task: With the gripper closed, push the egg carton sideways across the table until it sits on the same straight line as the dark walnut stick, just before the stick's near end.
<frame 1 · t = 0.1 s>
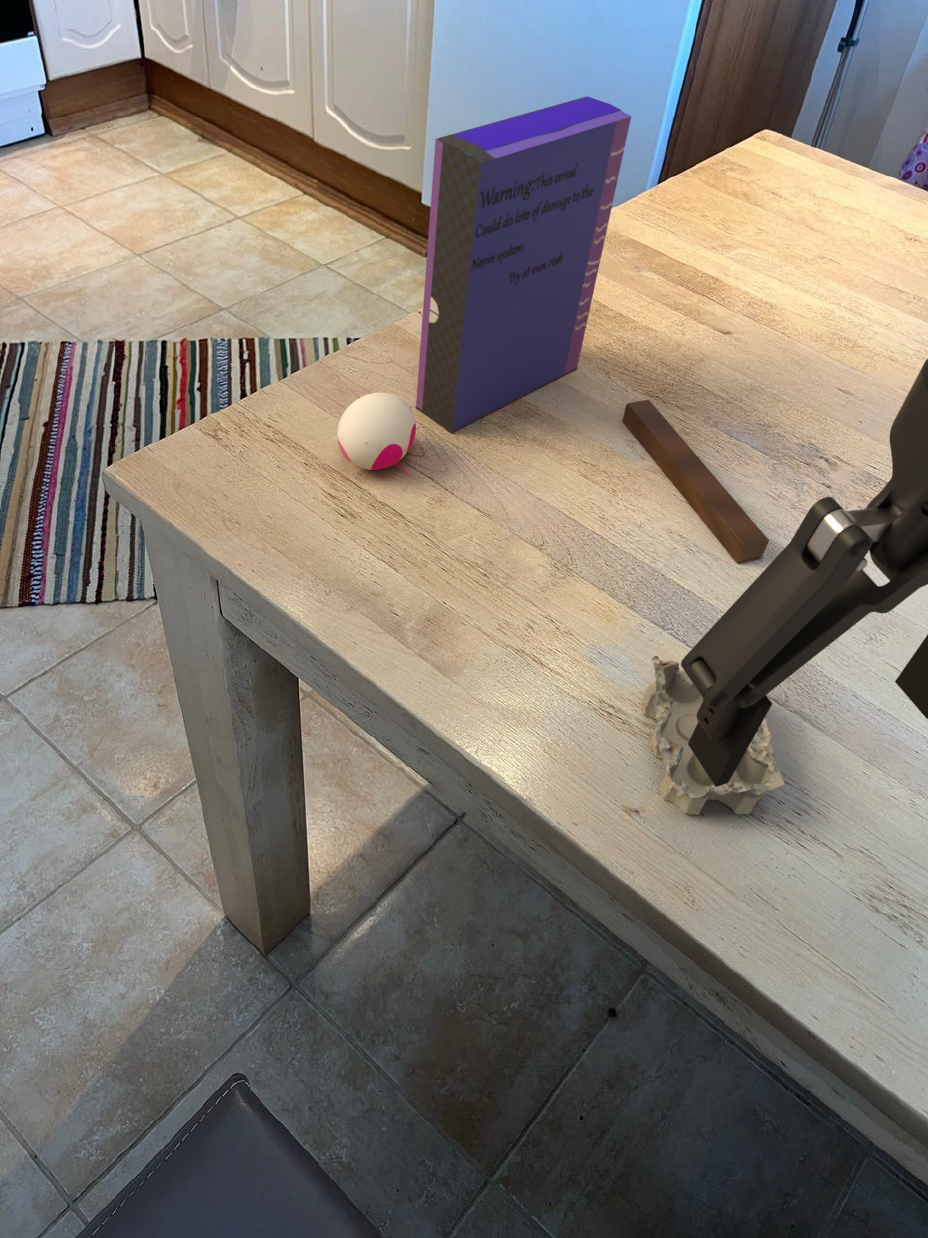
hand: (815, 730, 50), 13 cm above the table, tool pointing down, fingers open, 13 cm apart
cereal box: (499, 389, 91), on the table
walnut stick: (687, 484, 84), on the table
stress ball: (381, 463, 82), on the table
egg carton: (699, 751, 64), on the table
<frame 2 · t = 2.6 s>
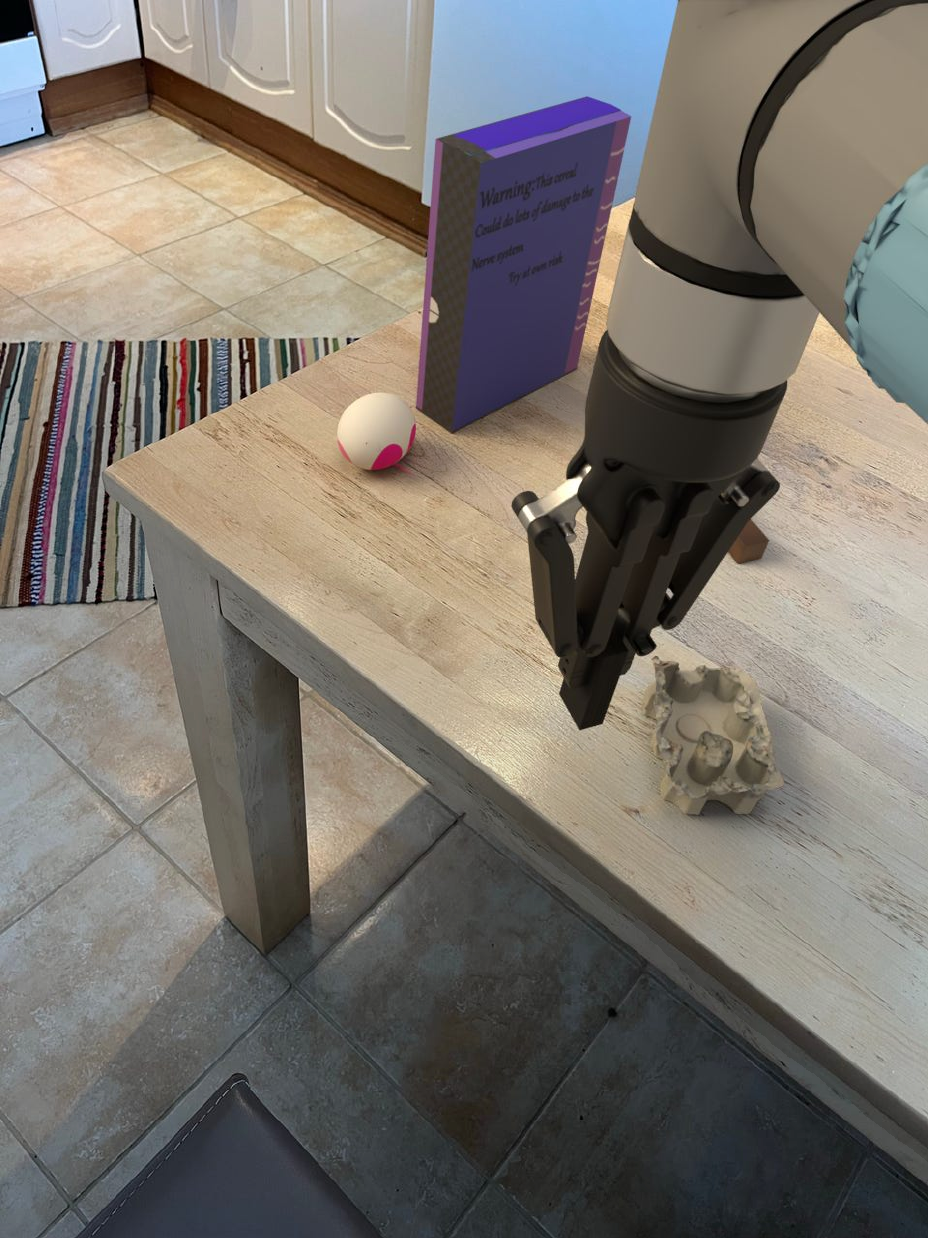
hand: (580, 708, 54), 9 cm above the table, tool pointing down, fingers closed
nothing on the table moved.
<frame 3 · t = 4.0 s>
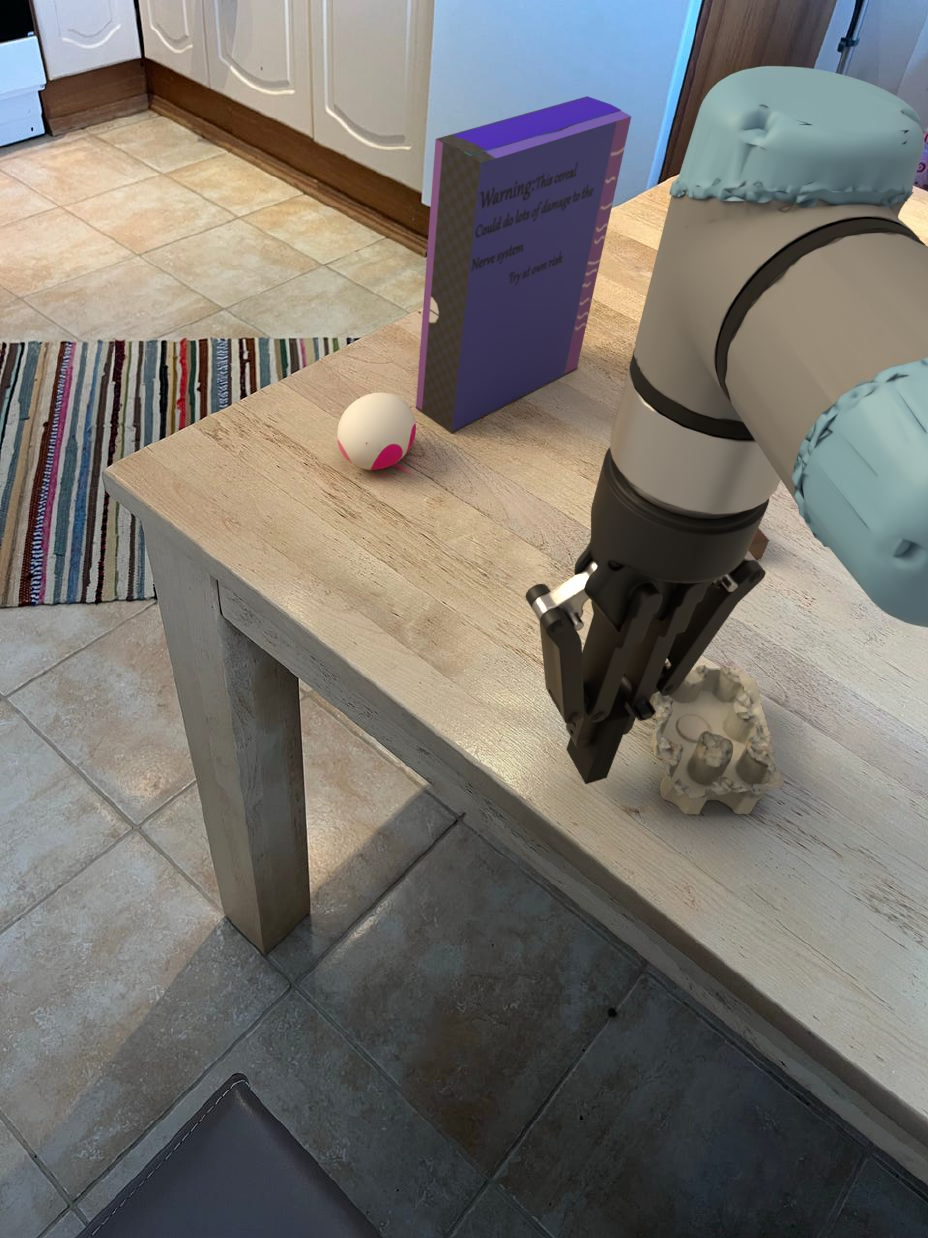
hand: (586, 763, 59), 3 cm above the table, tool pointing down, fingers closed
nothing on the table moved.
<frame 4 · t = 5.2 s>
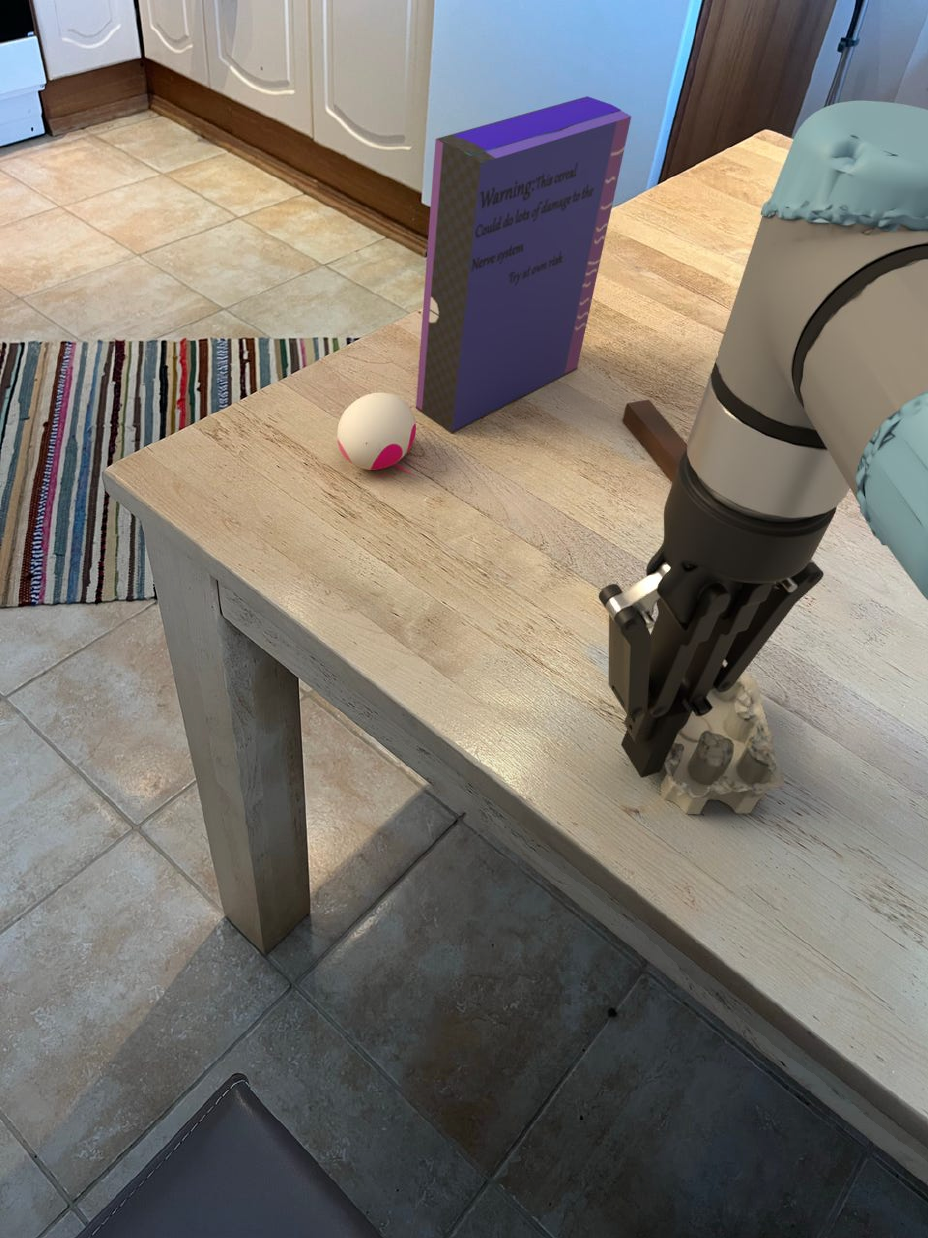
hand: (640, 758, 62), 1 cm above the table, tool pointing down, fingers closed
egg carton: (700, 751, 64), on the table, touching gripper
everything else where it was.
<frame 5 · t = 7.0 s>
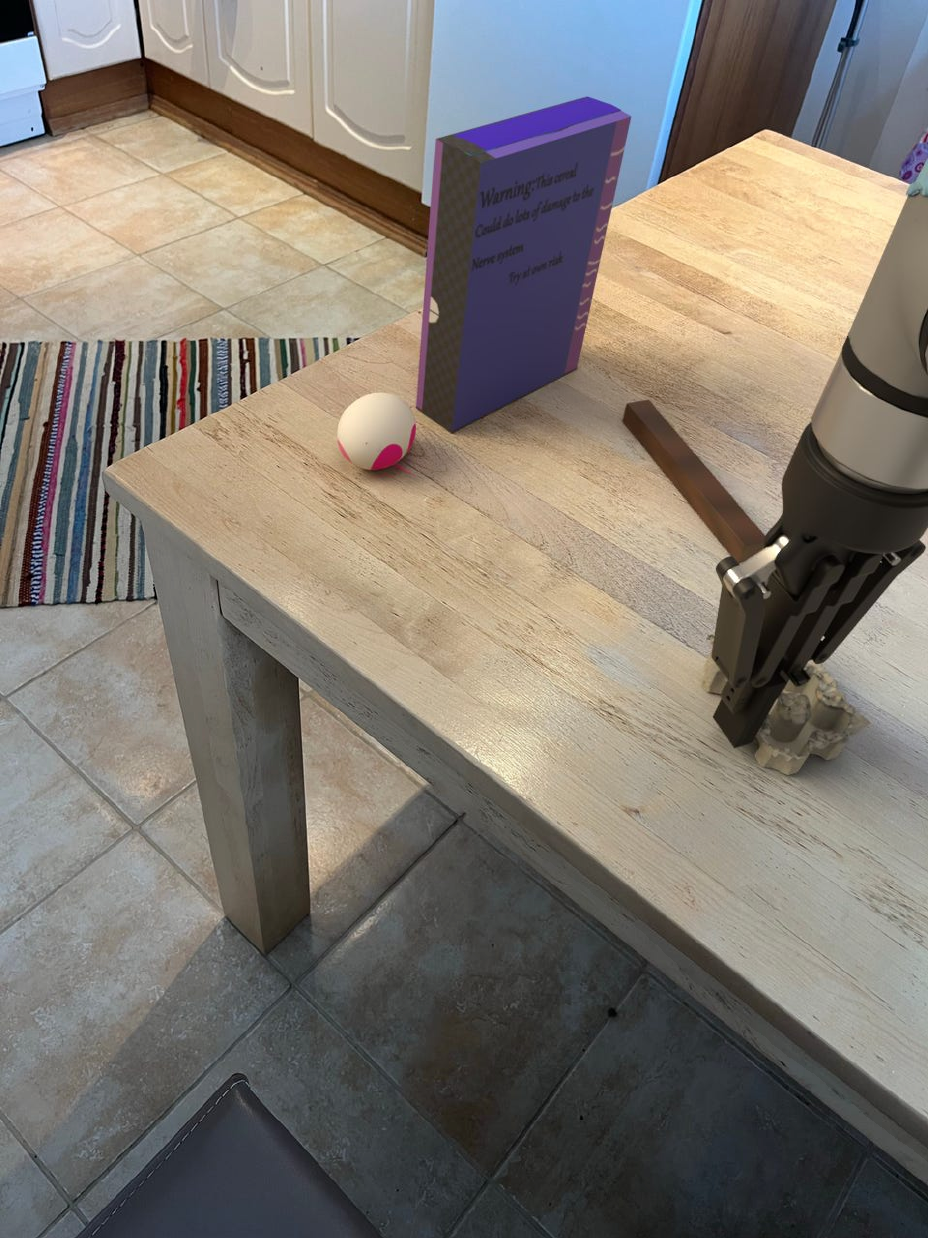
hand: (732, 729, 64), 1 cm above the table, tool pointing down, fingers closed
egg carton: (768, 712, 67), on the table, touching gripper
everything else where it was.
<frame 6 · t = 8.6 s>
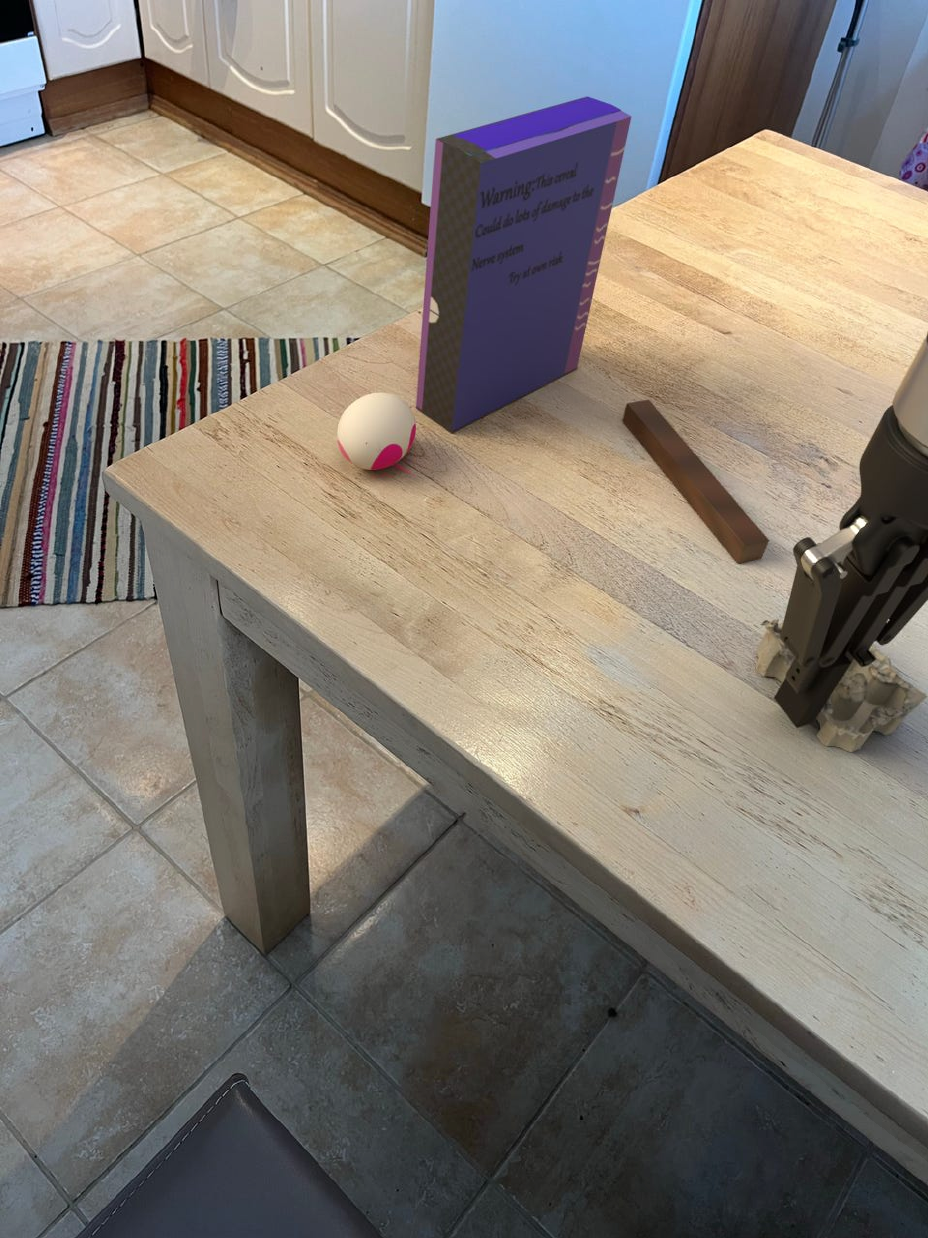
hand: (793, 710, 65), 1 cm above the table, tool pointing down, fingers closed
egg carton: (822, 692, 69), on the table, touching gripper
everything else where it was.
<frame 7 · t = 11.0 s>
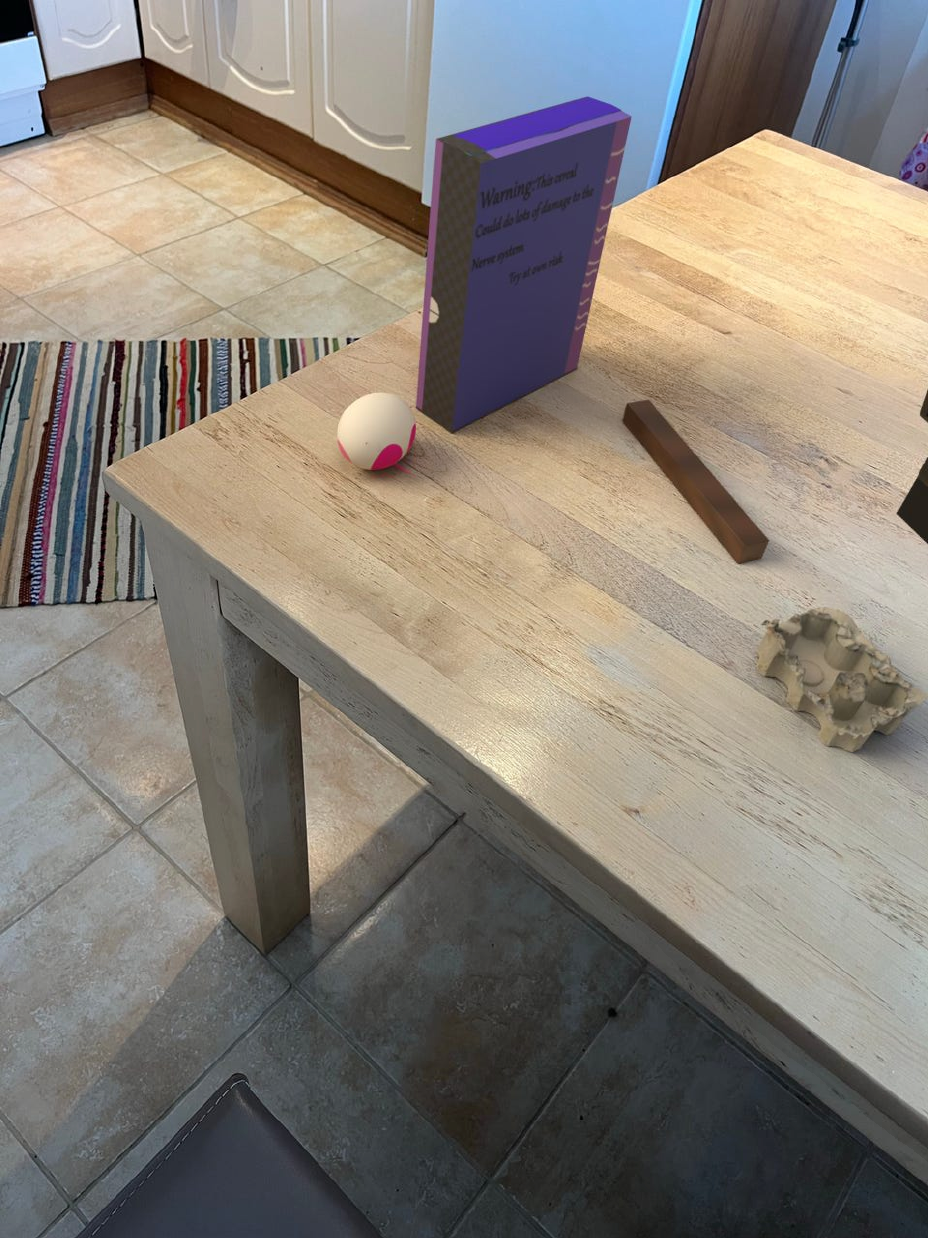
hand: (922, 526, 54), 18 cm above the table, tool pointing down, fingers closed
egg carton: (823, 691, 69), on the table
everything else where it was.
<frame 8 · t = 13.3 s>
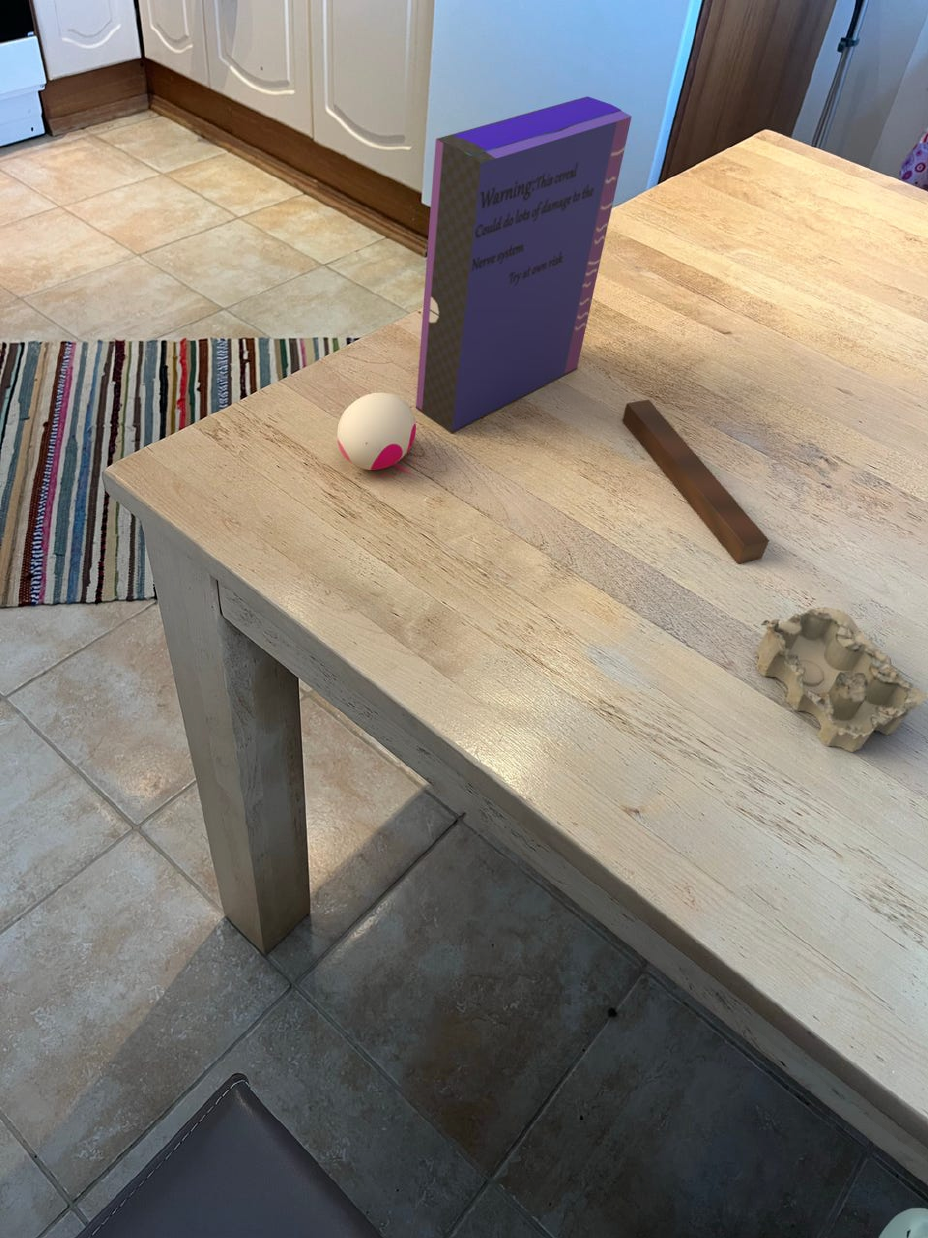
nothing on the table moved.
at the end: egg carton inside the target area on the table beside the walnut stick (2.9 cm from its centre), on the table; egg carton moved 11.8 cm from its start; the gripper is holding nothing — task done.
